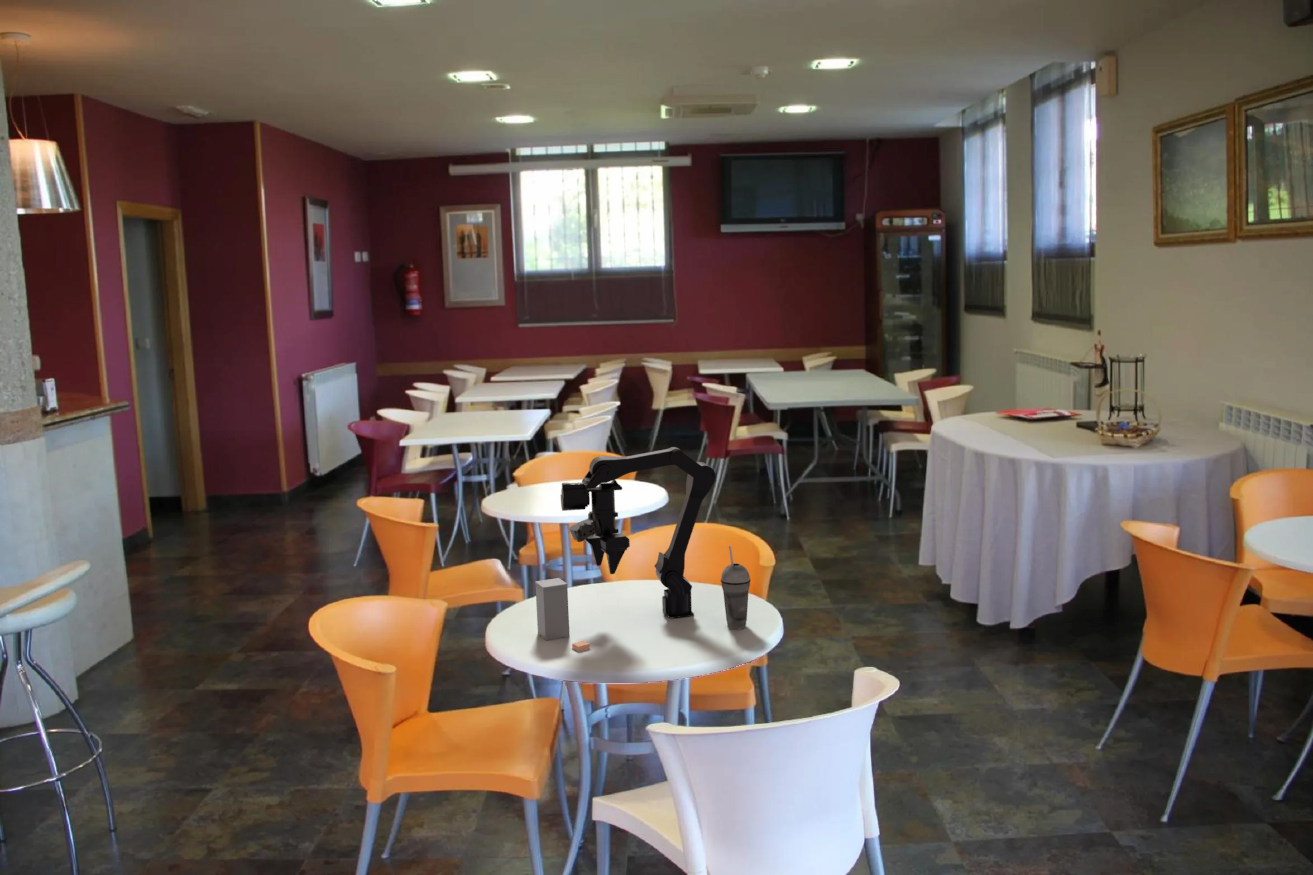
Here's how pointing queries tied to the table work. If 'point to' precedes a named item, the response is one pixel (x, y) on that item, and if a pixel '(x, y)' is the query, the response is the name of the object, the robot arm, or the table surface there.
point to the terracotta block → (580, 645)
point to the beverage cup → (735, 594)
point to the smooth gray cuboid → (552, 608)
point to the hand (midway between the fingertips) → (605, 569)
